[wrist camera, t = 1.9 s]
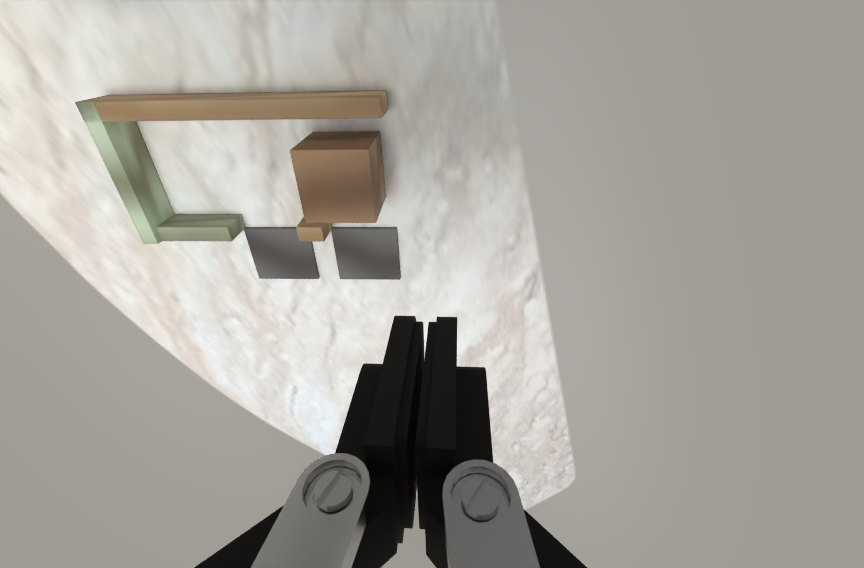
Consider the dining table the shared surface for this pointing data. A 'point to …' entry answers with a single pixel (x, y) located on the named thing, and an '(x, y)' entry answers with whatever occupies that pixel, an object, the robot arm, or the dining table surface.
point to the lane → (270, 246)
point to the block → (340, 176)
